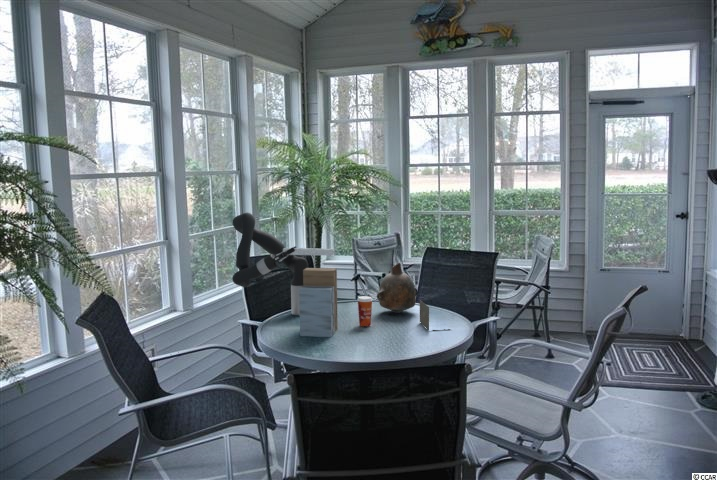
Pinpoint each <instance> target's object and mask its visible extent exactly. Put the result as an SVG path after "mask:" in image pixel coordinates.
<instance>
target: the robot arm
mask: <svg viewBox="0 0 717 480" xmlns="http://www.w3.org/2000/svg"><path fill="white" fill-rule="evenodd" d="M232 226H233V228H234V229H235V230H236V231H237V232H238V233H240V234H241V238H240V242H239V244H238V247H237V250H236V255H235V257H236V259H235V267H236V269H238V270H237V271H236V272H235V273H234V274H233V275H232V280H231V281H232V283H233V284H235V285H237V286H238V287H242V288H247V287H249V286H250V285H251V283H252V280H253V279H258V278H260V277H262V276H263V275H265V274H268V273H270V272H272V271H274V270H275V269H277V268H278V267H280V263H282V264H283V265H284V266H285V267H287V269H288V270H290V271H291V272H293V278H292V279H291V280H290V294H291V295H290V298H291V299H290V302H291V303H290V308H291V316H300V310H299V288H301V287H302V286H303V270H304V269H306V268H309V262H308V260H307V259H306V258H305V257H301V256H298V255H289V254H291V253H292V252H294V251H295V249H294V248H297V246H292V247H290V248H291V249H289V250H287V251H285V252H283V248H286V246H285V245H284V244H283V242H282V241H281V240H279V239H278V238H277V237H276V236H274V235H273V234H272V233H269V232H268V231H267V232H266V231H264V230H261V229H259V228H256V227H255V226H256V219H255V216H254V215H253V214H252V213H251V212H244V213H240V214H238V215H236V216H235V217H234V218H233V219H232ZM252 242H254V243H255V244H256V245H258V246H259V247H260V248H262V249H263V250H264V251H266V253H269V255H267V256H266V257H263V258H262V259H260V260H259V261H257V262H256V263H254V264H253V265H251V266H250V264H251V263H250V258H251V248H252V247H251V245H252Z"/></svg>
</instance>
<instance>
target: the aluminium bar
mask: <svg viewBox="0 0 717 480" xmlns="http://www.w3.org/2000/svg"><path fill="white" fill-rule="evenodd" d="M291 248H292V247H285V248H283V252H285V251H287V250H289V249H291ZM294 249H295V251H294V252H292V253H291V254H289V255H295V256H326V257H327V256H331V257H333V256H335V248H313V247H311V248H310V247H309V248H308V247H307V248H306V247H304V248H303V247H300V248H299V247H296V248H294Z"/></svg>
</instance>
